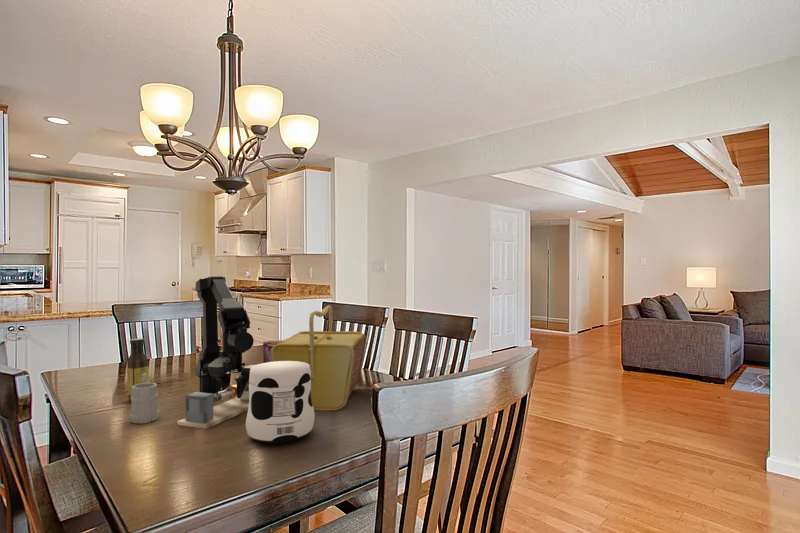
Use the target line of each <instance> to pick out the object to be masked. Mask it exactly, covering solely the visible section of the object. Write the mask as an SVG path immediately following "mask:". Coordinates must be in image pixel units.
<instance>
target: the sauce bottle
mask: <svg viewBox="0 0 800 533" xmlns="http://www.w3.org/2000/svg"><path fill="white" fill-rule="evenodd" d="M144 343H145V338H143V337H141V338H140V337H139V338H131V339H130V340H129V345H130V355H129V357H128V358H127V361H126V364H127V367H126V372H127V373H126V375H127V378H126V379H127V394H128V401H130V402H132V401H131V396H132V386H134V385H137V384H141V383H142V374H146V378H147V383H150V370H149V359H148V357H147V355H146V354H145V352H144V351H145V349H144Z"/></svg>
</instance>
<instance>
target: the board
mask: <svg viewBox="0 0 800 533" xmlns="http://www.w3.org/2000/svg"><path fill="white" fill-rule="evenodd" d="M248 405H249V401H245V400H240V398H239V399H238V398H237V396H235V397H233V398H230V399H229V400H227V401H224V402H222V403H220V404H217V405H213V419H212V420H210V421H207V422H205V423H197V422H189V421H186V417H185V418H182V419H180V420H177V421H176V422H177V423H176V424H177V425H176V426H182V427H189V428H197V429H203V430H207V429H209V428H212V427H214V426H216V425H218V424H220V423H223V422H225V421H227V420H229V419H232V418H234V417H236V416H238V415H240V414H242V413H245V412H247V409H248Z"/></svg>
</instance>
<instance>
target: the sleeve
mask: <svg viewBox="0 0 800 533" xmlns="http://www.w3.org/2000/svg"><path fill="white" fill-rule="evenodd" d="M248 382H249V381H248ZM240 400H245V401H249V389H248V390H245V391H243V394H242V396H241V398H240Z"/></svg>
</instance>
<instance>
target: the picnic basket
mask: <svg viewBox="0 0 800 533" xmlns="http://www.w3.org/2000/svg"><path fill="white" fill-rule="evenodd" d="M327 313H328V331H327V330H326V331H323V330H321V331H320V330H315V329H314V318H315V316H316V317H319V318H321V317H324V316H326V315H327ZM308 322H309V323H308V324H309V325H308V326H309V328H308V329H309V330H304V331H299V332H297V333H296V334H294V335H292V336H290V337H288V338H285V339H283V340H284V341H282V342H280V343H278V344H276V345H274V346H273V347H272V348H271V351H270V354H271V359H272V362H275V361H299V362H305V363H307V364H309V365H310V370H311V401H312V405H313V408H314V411H326V412H327V411H328V412H329V411H331V412H333V411H338V410H341V409H343V408H344V407H345V406H346V405H347V402H348V399H349V397H350V395H351V394H352V392H353V391H354V389H355V388H356V387H357V386H358V384H359V383H360V380H361V379H360V378H361V372H362V367H363V362H364V355H365V350H366V344H367V337H366V335H365V334H364V333H363V332H360V331H349V330H347V331H344V330H342V331H341V330H340V331H339V330H338V331H336V330H335V331H333V308H332V305H330V304H329V305H326V306H325V307H324V308H323V309H322V310H321V311H319V310H314V311H312V312H310V315H309V319H308ZM314 330H315V331H314Z"/></svg>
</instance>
